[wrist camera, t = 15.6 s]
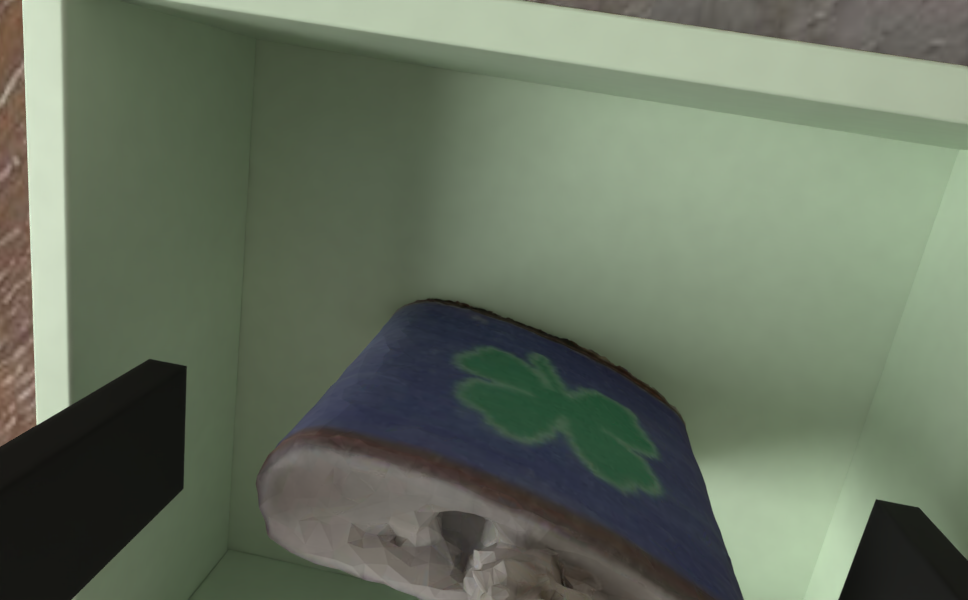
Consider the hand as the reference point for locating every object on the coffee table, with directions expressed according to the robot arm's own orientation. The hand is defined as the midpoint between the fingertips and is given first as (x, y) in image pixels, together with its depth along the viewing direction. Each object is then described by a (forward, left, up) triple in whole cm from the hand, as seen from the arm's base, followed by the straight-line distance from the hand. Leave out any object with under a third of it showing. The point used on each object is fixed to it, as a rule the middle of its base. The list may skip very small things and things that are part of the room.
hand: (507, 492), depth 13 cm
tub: (0, 0, -8) cm, 8 cm away
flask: (0, 0, -7) cm, 7 cm away
